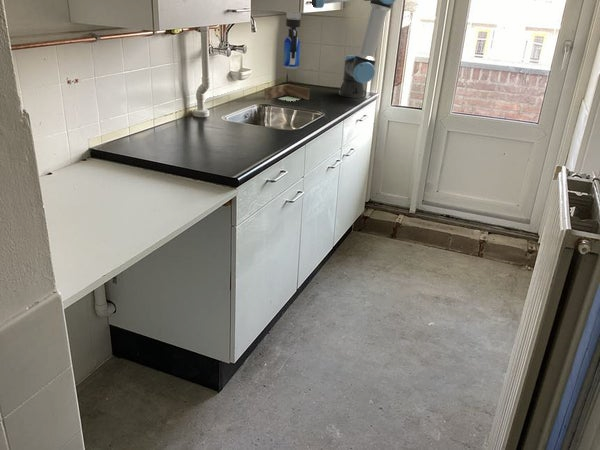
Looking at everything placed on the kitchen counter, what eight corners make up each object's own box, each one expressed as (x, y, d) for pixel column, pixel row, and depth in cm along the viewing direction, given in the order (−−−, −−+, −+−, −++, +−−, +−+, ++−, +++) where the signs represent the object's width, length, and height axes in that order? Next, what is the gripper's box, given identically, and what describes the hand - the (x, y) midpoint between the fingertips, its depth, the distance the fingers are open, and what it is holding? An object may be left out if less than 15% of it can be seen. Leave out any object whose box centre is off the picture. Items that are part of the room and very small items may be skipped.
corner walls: (285, 94, 309) (286, 83, 307) (309, 99, 301) (309, 88, 298) (264, 99, 294) (264, 88, 292) (287, 104, 286) (288, 93, 283)
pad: (287, 96, 304) (287, 96, 303) (300, 99, 299) (300, 99, 299) (278, 99, 297) (278, 98, 297) (290, 101, 292) (290, 101, 292)
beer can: (300, 69, 288) (302, 38, 281) (285, 69, 286) (287, 37, 279) (295, 66, 295) (297, 36, 289) (281, 66, 293) (282, 36, 286)
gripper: (283, 16, 289) (281, 59, 298) (289, 20, 270) (287, 66, 279) (297, 17, 290) (294, 60, 300) (303, 20, 271) (301, 66, 281)
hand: (291, 63), depth 289 cm, fingers closed on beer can, 8 cm apart
